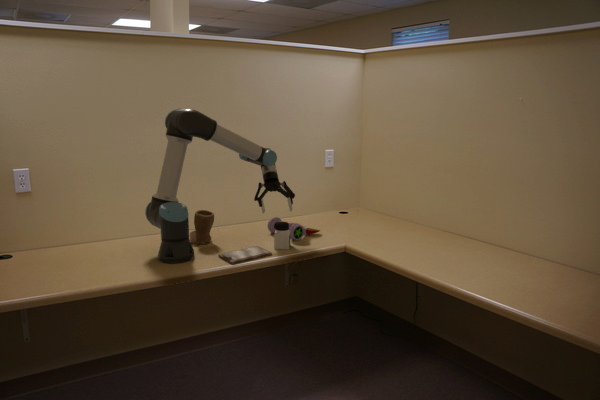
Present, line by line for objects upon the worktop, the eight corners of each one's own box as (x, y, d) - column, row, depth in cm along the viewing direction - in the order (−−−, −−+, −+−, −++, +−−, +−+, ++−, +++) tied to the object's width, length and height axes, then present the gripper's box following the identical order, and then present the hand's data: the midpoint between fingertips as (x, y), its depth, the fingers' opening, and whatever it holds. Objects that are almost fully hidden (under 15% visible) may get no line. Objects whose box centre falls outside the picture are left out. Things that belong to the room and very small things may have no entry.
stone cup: (216, 244, 213) (215, 213, 210) (190, 246, 210) (188, 215, 207) (213, 235, 227) (212, 206, 224) (189, 237, 224) (188, 207, 221)
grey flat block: (232, 264, 186) (231, 259, 186) (218, 256, 195) (218, 252, 195) (271, 254, 198) (271, 250, 198) (257, 247, 207) (257, 243, 207)
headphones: (265, 219, 229) (295, 208, 241) (268, 237, 232) (296, 225, 244) (291, 227, 214) (320, 215, 227) (292, 246, 217) (322, 233, 230)
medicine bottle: (289, 249, 205) (289, 224, 203) (274, 249, 205) (273, 224, 203) (290, 244, 212) (290, 220, 210) (275, 244, 212) (275, 220, 210)
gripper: (292, 178, 232) (300, 213, 222) (244, 180, 225) (251, 216, 215) (295, 169, 226) (304, 205, 216) (246, 171, 219) (253, 208, 208)
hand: (277, 211), depth 215 cm, fingers open, 13 cm apart
